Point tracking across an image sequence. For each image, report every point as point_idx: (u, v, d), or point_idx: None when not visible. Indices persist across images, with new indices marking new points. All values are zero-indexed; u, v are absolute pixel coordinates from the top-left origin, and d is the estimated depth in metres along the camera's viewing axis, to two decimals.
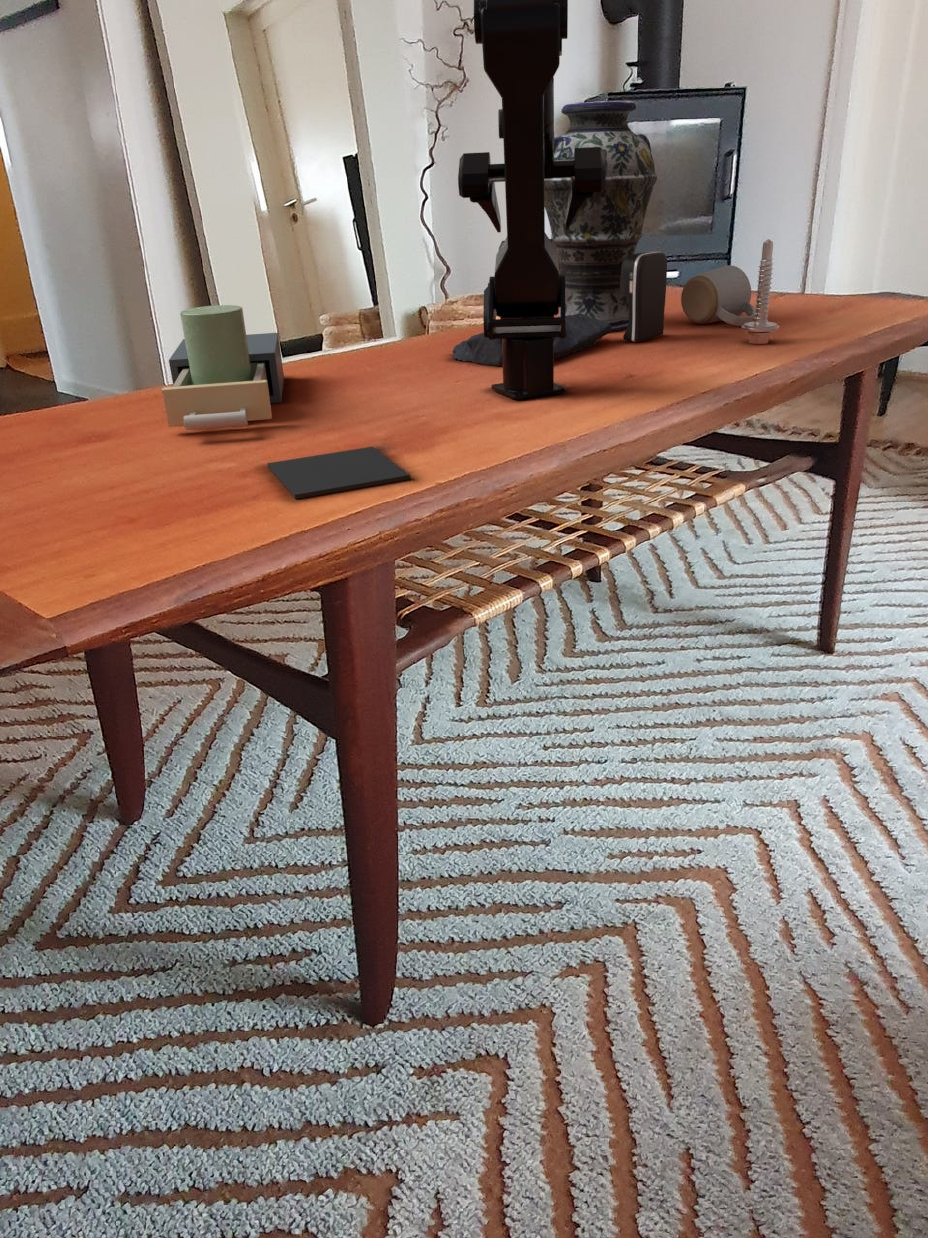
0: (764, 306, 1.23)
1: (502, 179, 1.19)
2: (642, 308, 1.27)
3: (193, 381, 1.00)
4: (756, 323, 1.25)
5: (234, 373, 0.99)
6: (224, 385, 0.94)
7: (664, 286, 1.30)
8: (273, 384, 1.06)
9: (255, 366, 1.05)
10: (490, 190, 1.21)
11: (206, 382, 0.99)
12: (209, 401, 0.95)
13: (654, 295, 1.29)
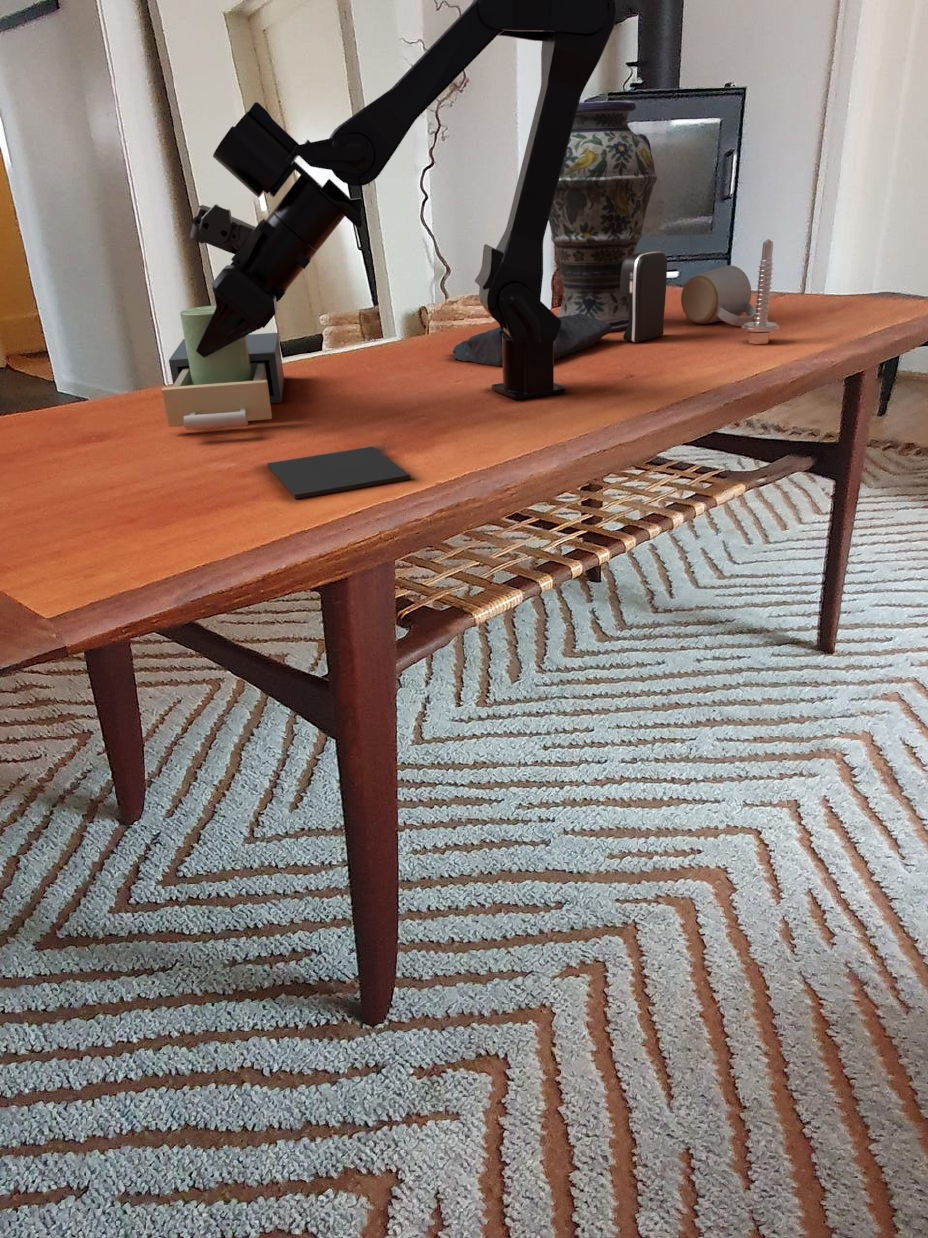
0: (764, 306, 1.23)
1: None
2: (642, 308, 1.27)
3: (193, 381, 1.00)
4: (756, 323, 1.25)
5: (234, 373, 0.99)
6: (224, 385, 0.94)
7: (664, 286, 1.30)
8: (273, 384, 1.06)
9: (255, 366, 1.05)
10: None
11: (206, 382, 0.99)
12: (209, 401, 0.95)
13: (654, 295, 1.29)
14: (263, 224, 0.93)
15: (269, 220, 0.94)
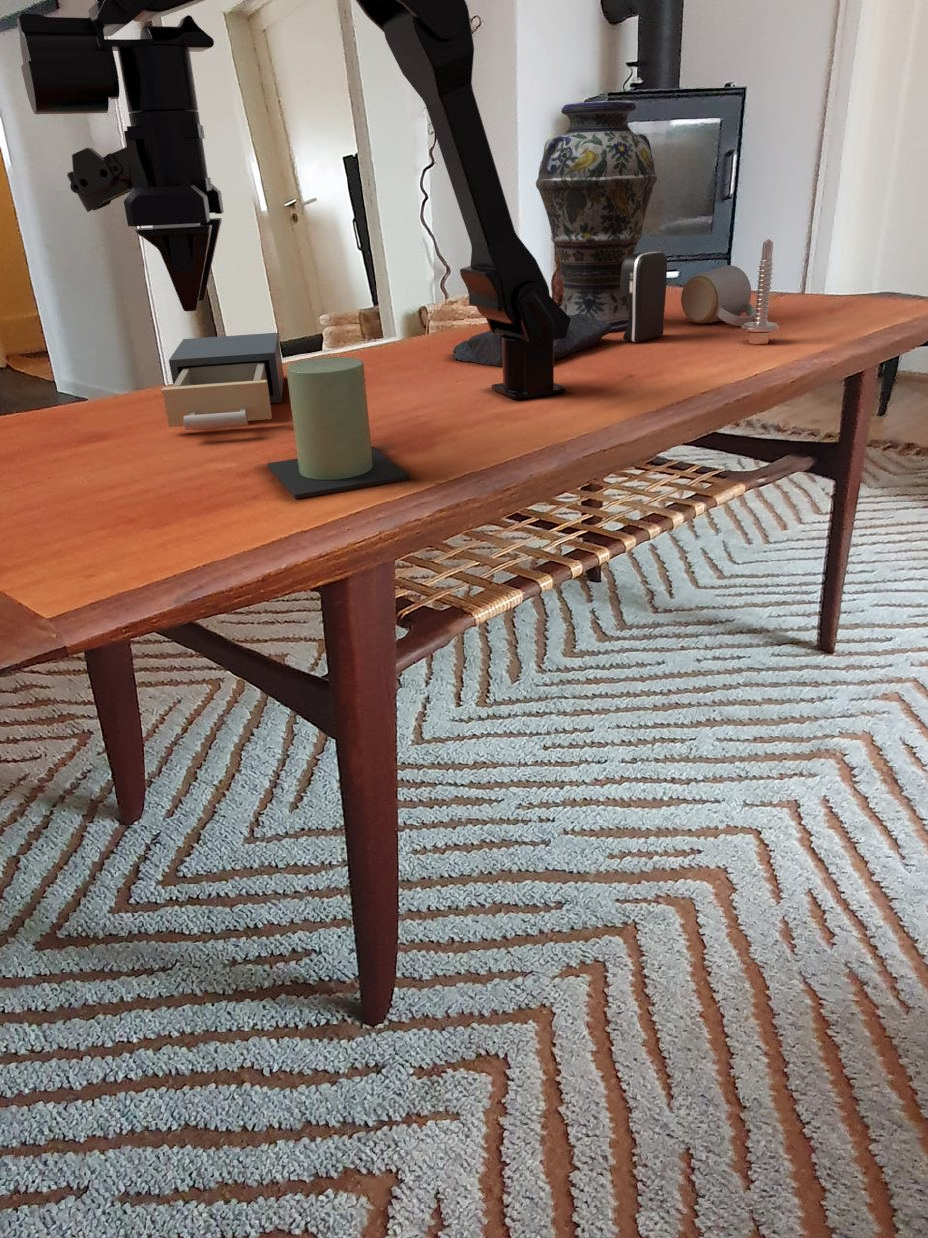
0: (764, 306, 1.23)
1: None
2: (642, 308, 1.27)
3: (324, 457, 0.78)
4: (756, 323, 1.25)
5: (369, 436, 0.80)
6: (224, 385, 0.94)
7: (664, 286, 1.30)
8: (273, 384, 1.06)
9: (255, 366, 1.05)
10: None
11: (350, 453, 0.78)
12: (209, 401, 0.95)
13: (655, 295, 1.29)
14: (129, 131, 0.77)
15: (132, 123, 0.78)
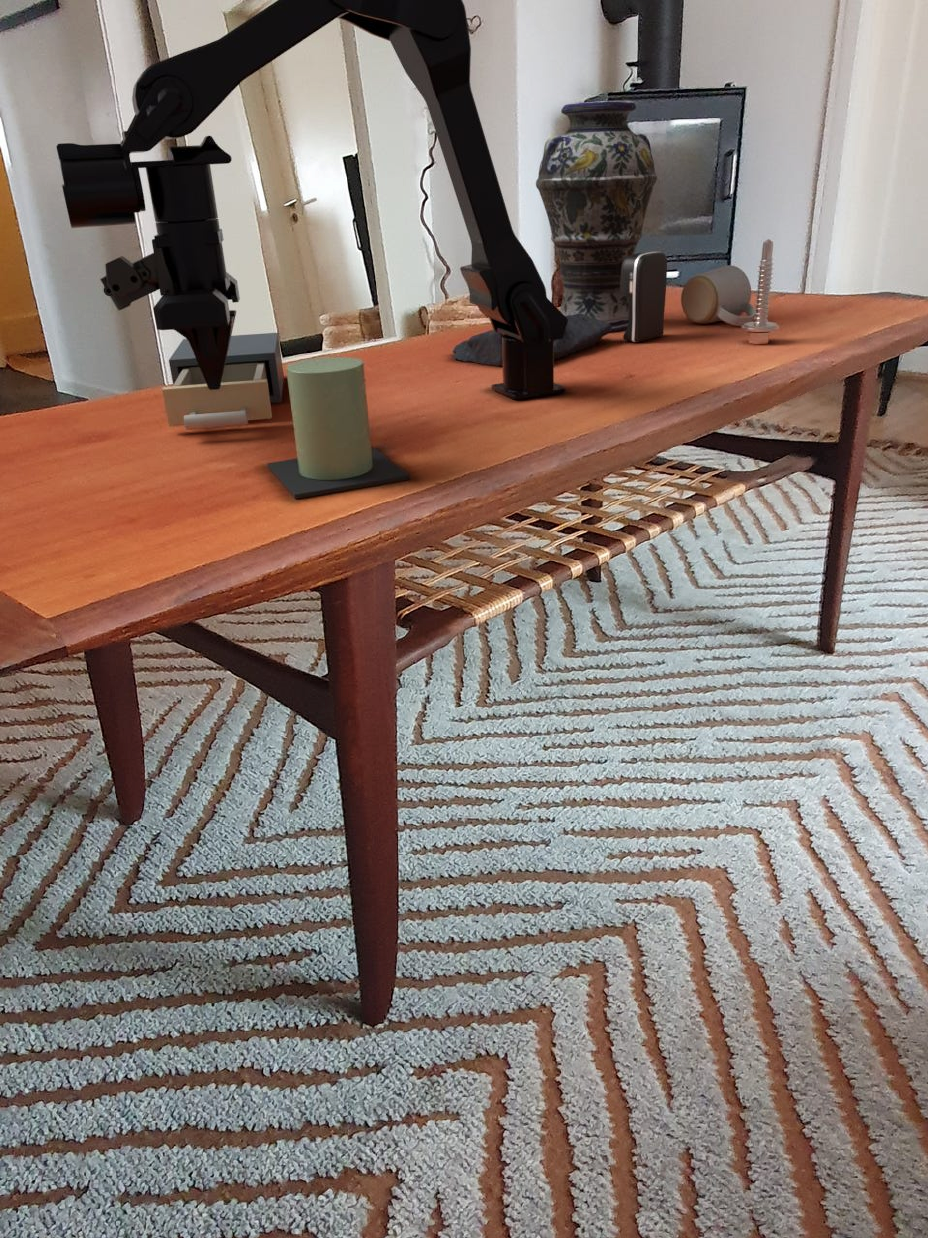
0: (764, 306, 1.23)
1: None
2: (642, 308, 1.27)
3: (324, 457, 0.78)
4: (756, 323, 1.25)
5: (369, 436, 0.80)
6: (224, 385, 0.94)
7: (664, 286, 1.30)
8: (273, 384, 1.06)
9: (255, 366, 1.05)
10: None
11: (350, 453, 0.78)
12: (210, 401, 0.95)
13: (654, 295, 1.29)
14: (156, 240, 0.85)
15: (158, 232, 0.86)
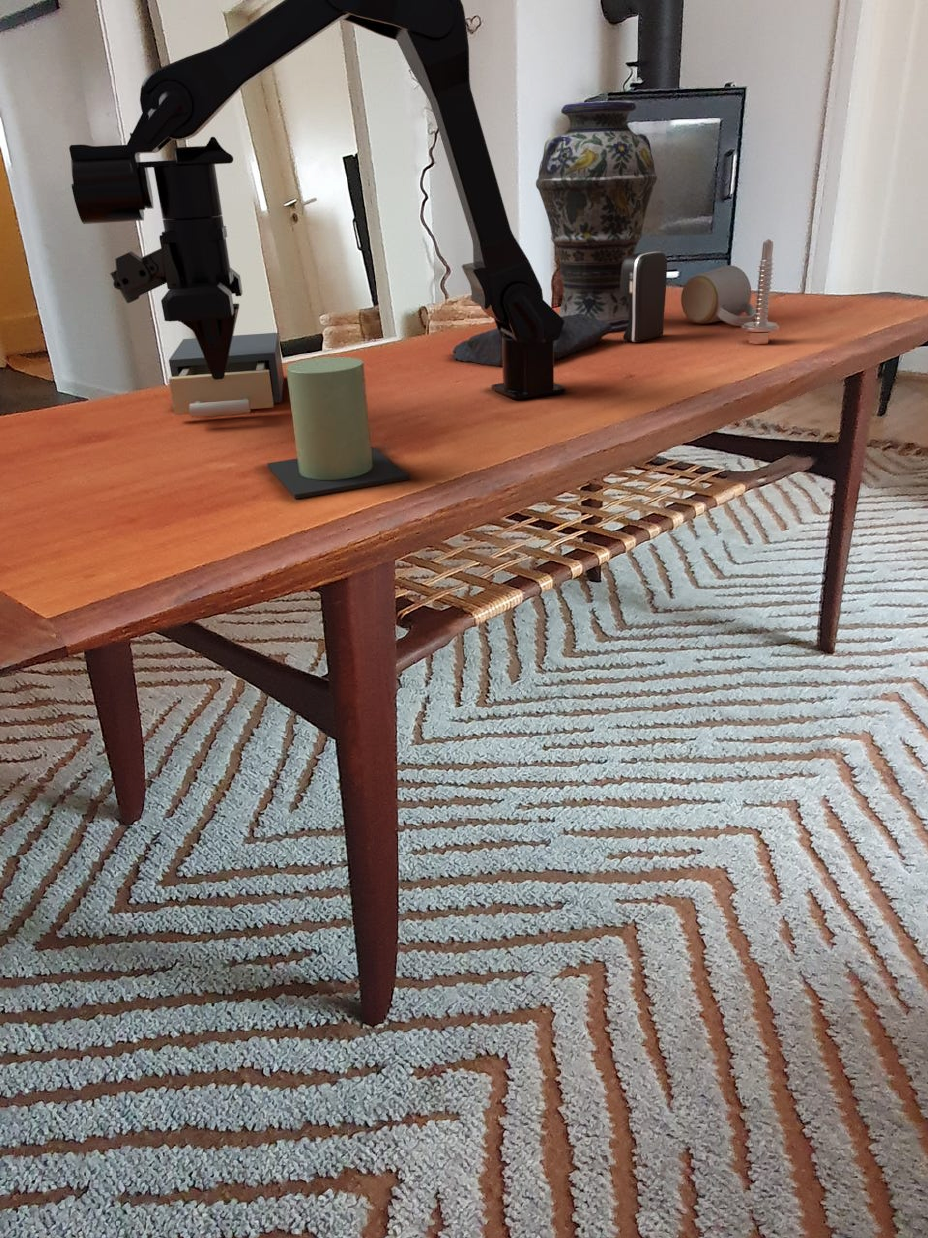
0: (764, 306, 1.23)
1: None
2: (642, 308, 1.27)
3: (324, 457, 0.78)
4: (756, 323, 1.25)
5: (369, 436, 0.80)
6: (228, 375, 0.99)
7: (664, 286, 1.30)
8: (273, 384, 1.06)
9: None
10: None
11: (350, 453, 0.78)
12: (214, 390, 0.99)
13: (654, 295, 1.29)
14: (163, 236, 0.90)
15: (166, 229, 0.90)
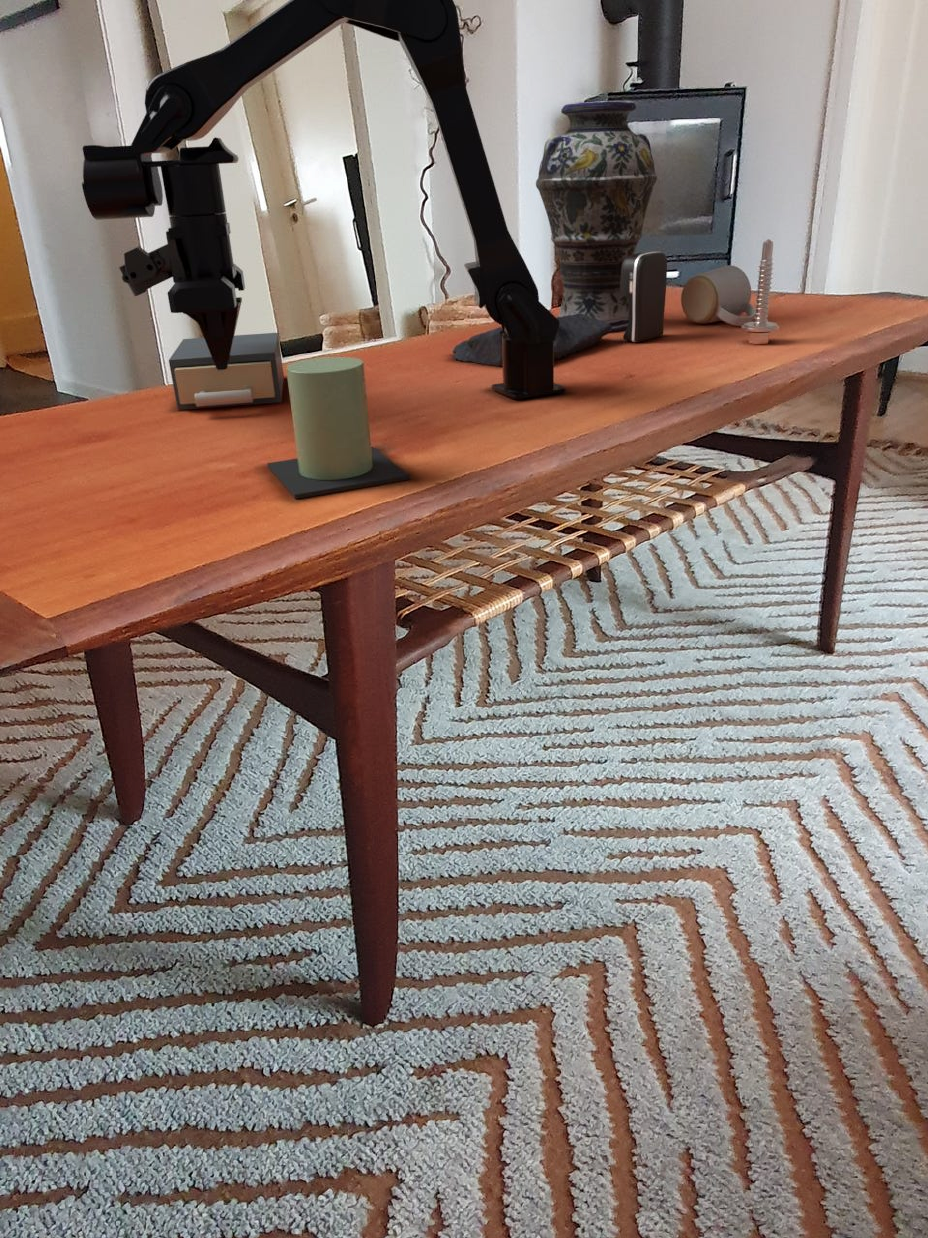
0: (764, 306, 1.23)
1: None
2: (642, 308, 1.27)
3: (324, 457, 0.78)
4: (756, 323, 1.25)
5: (369, 436, 0.80)
6: (231, 366, 1.03)
7: (664, 286, 1.30)
8: None
9: None
10: None
11: (350, 453, 0.78)
12: (218, 380, 1.04)
13: (654, 295, 1.29)
14: (170, 232, 0.94)
15: (172, 225, 0.95)
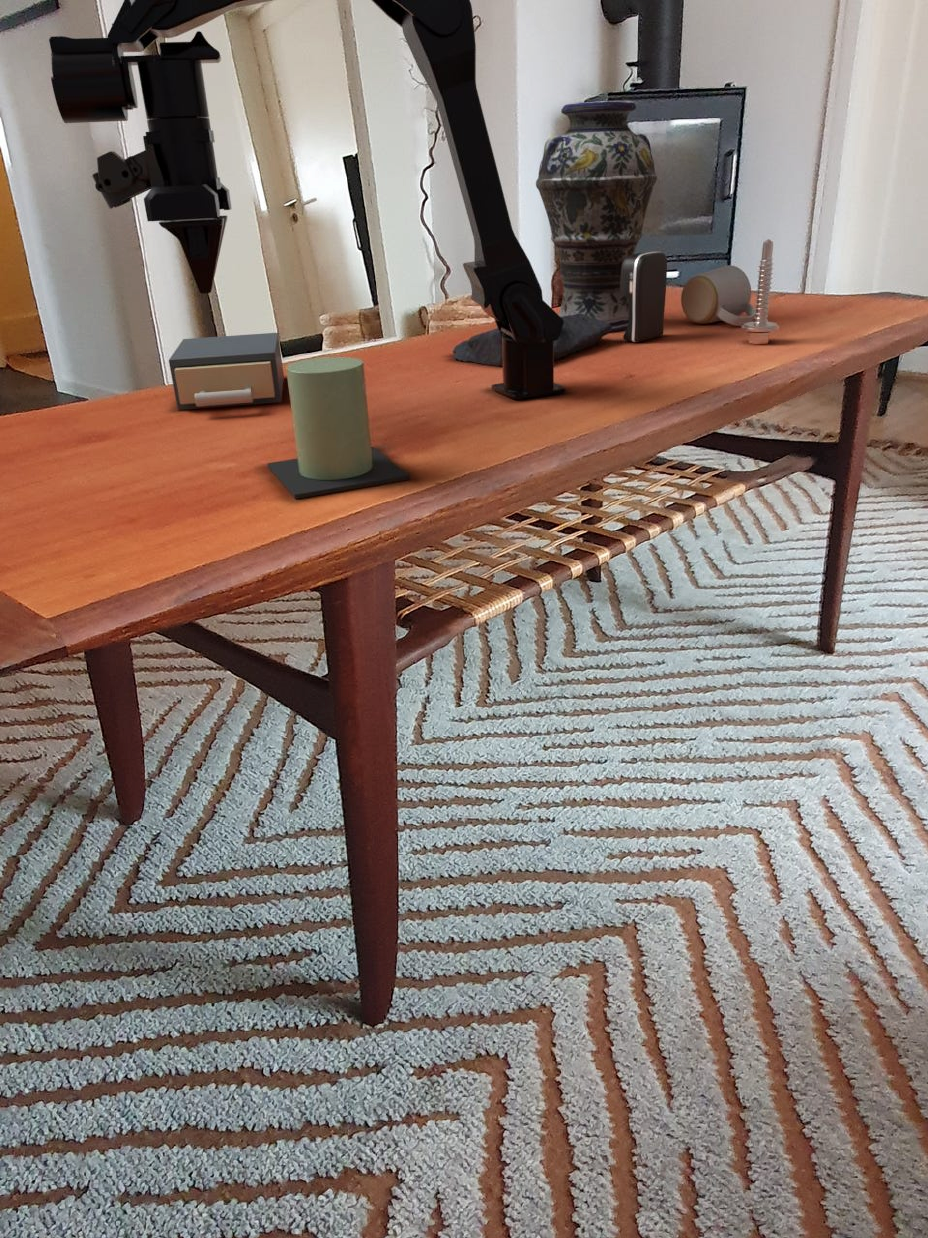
0: (764, 306, 1.23)
1: None
2: (642, 308, 1.27)
3: (324, 457, 0.78)
4: (756, 323, 1.25)
5: (369, 436, 0.80)
6: (231, 366, 1.03)
7: (664, 286, 1.30)
8: None
9: None
10: None
11: (350, 453, 0.78)
12: (218, 380, 1.04)
13: (654, 295, 1.29)
14: (147, 136, 0.86)
15: (150, 129, 0.87)
